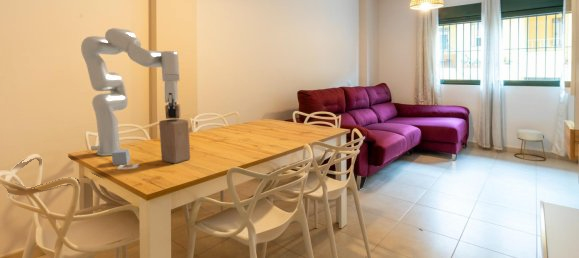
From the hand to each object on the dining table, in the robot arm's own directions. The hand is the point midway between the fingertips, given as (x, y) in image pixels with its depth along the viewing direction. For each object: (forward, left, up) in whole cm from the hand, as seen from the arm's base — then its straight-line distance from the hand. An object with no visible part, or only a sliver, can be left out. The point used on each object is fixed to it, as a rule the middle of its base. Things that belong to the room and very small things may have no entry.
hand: (173, 115), depth 155 cm
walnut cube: (0, 0, -1) cm, 1 cm away
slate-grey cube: (-25, +1, -22) cm, 33 cm away
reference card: (-20, -8, -22) cm, 31 cm away
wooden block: (0, 0, -22) cm, 22 cm away
